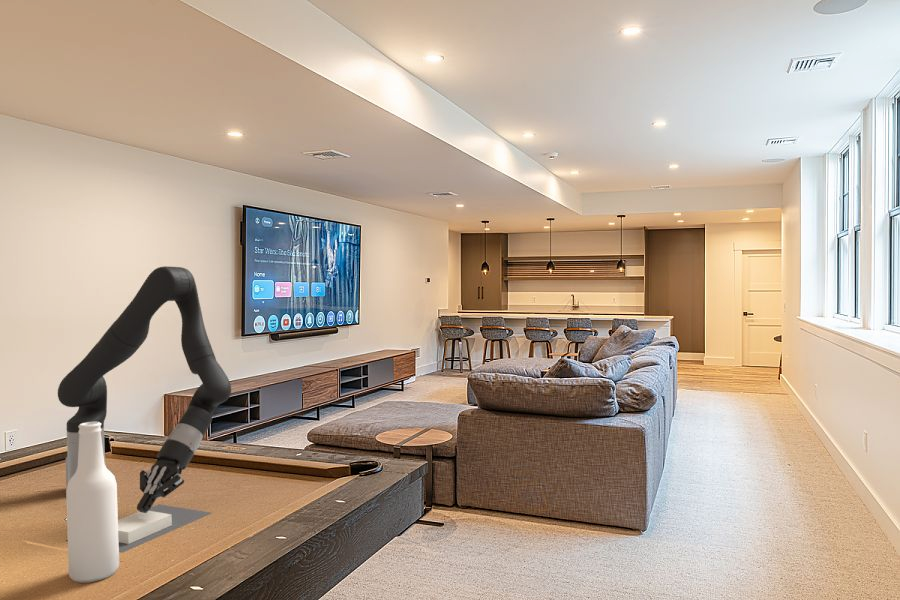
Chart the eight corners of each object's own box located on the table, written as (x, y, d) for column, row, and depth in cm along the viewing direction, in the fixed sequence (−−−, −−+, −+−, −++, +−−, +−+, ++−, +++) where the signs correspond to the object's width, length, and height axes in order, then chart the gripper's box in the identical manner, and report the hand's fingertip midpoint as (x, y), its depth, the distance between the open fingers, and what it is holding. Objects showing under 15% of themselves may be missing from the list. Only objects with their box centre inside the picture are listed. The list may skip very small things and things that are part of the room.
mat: (65, 542, 146) (65, 540, 146) (159, 505, 170) (159, 504, 170) (122, 554, 139) (122, 552, 139) (212, 514, 163) (212, 512, 163)
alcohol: (66, 587, 124) (60, 430, 123) (72, 569, 132) (67, 421, 131) (117, 578, 127) (113, 425, 127) (120, 561, 136) (116, 417, 135)
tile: (144, 520, 158) (99, 538, 147) (143, 509, 158) (99, 526, 147) (171, 525, 154) (128, 544, 143) (171, 514, 154) (128, 532, 143)
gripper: (152, 436, 163) (110, 500, 152) (192, 440, 158) (152, 506, 147) (169, 452, 168) (130, 515, 157) (209, 456, 163) (171, 522, 152)
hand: (141, 511), depth 152 cm, fingers closed
